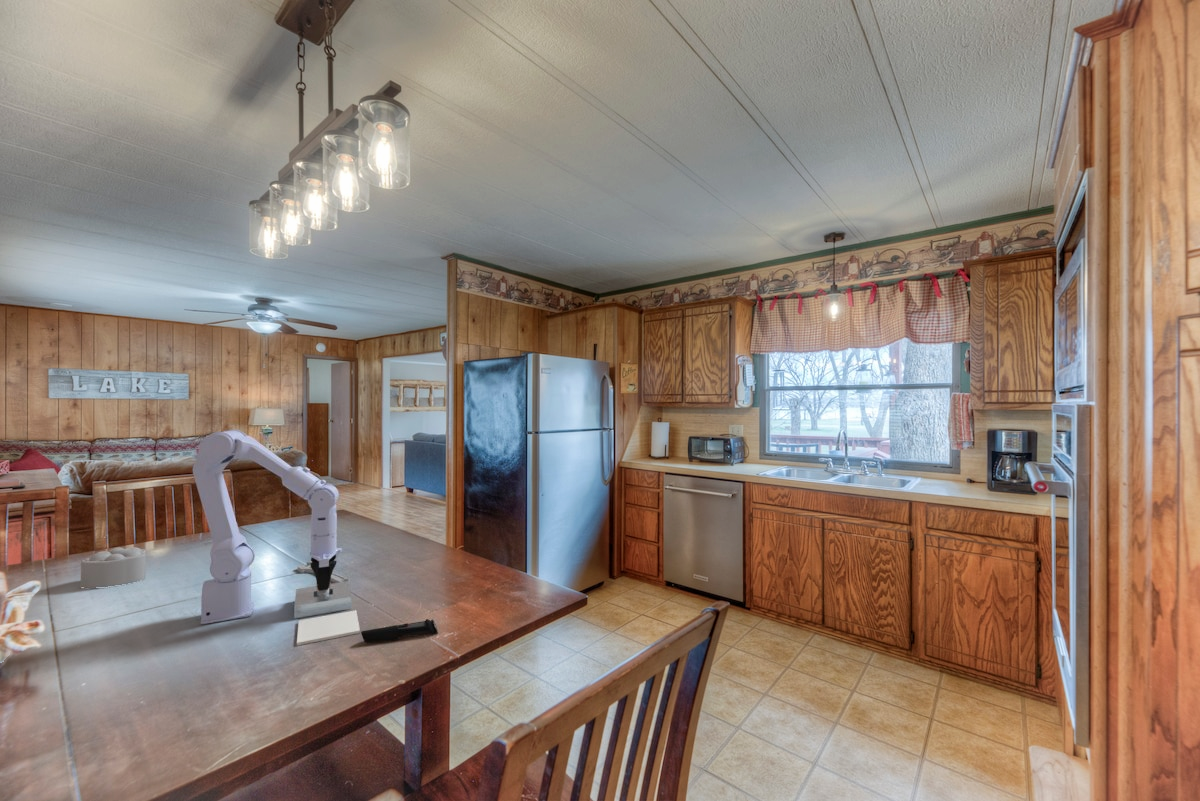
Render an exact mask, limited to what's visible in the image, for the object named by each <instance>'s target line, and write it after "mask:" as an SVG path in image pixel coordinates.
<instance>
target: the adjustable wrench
mask: <svg viewBox="0 0 1200 801" xmlns="http://www.w3.org/2000/svg"><path fill="white" fill-rule="evenodd" d="M311 563H312V561H311V560H310V561H306V565H303V564H299V565H298V564H297V572H298V571H299V572H298V573H299V574H306V573H308V572H309V574H314V571H313V570H312V568H311ZM305 572H306V573H305ZM346 581H349V582H350V579H349V578H348V577H345V576H343V575H340V574H338V573H335V572H332V575H331V579H330V582H332V583H340V582H346Z"/></svg>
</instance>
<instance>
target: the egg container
mask: <svg viewBox="0 0 1200 801" xmlns="http://www.w3.org/2000/svg"><path fill="white" fill-rule="evenodd" d="M146 552H147V551H146V549H144V548H140V547H136V546H133V547H132V546H131V547H127V548H123V547H114V548H111V549H110V550H108V551H107V550H104V551H103V550H102V551H98V552H96V553H94V554H93V555H91V557H86V558H84V559H82V560H81V561H80V588H81V587H84V588H96V587H108V586H115V585H121V586H123V585H122V584H126V585H129V584H128V583H131V584H134V583H133V582H136V583H138V582H137V581H139V582H141V581H140V580H142V581H144V580H146V570H147V569H146V565H147V564H146V560H147V558H146V557H147V555H146ZM143 579H144V580H143ZM115 587H116V586H115Z"/></svg>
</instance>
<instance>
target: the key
mask: <svg viewBox="0 0 1200 801" xmlns="http://www.w3.org/2000/svg"><path fill="white" fill-rule="evenodd" d="M330 584H331V583H330ZM330 584H329V588H330ZM329 588H328V590H321V591H319V590H318V587H317V597H319V596H325V595H329Z"/></svg>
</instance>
